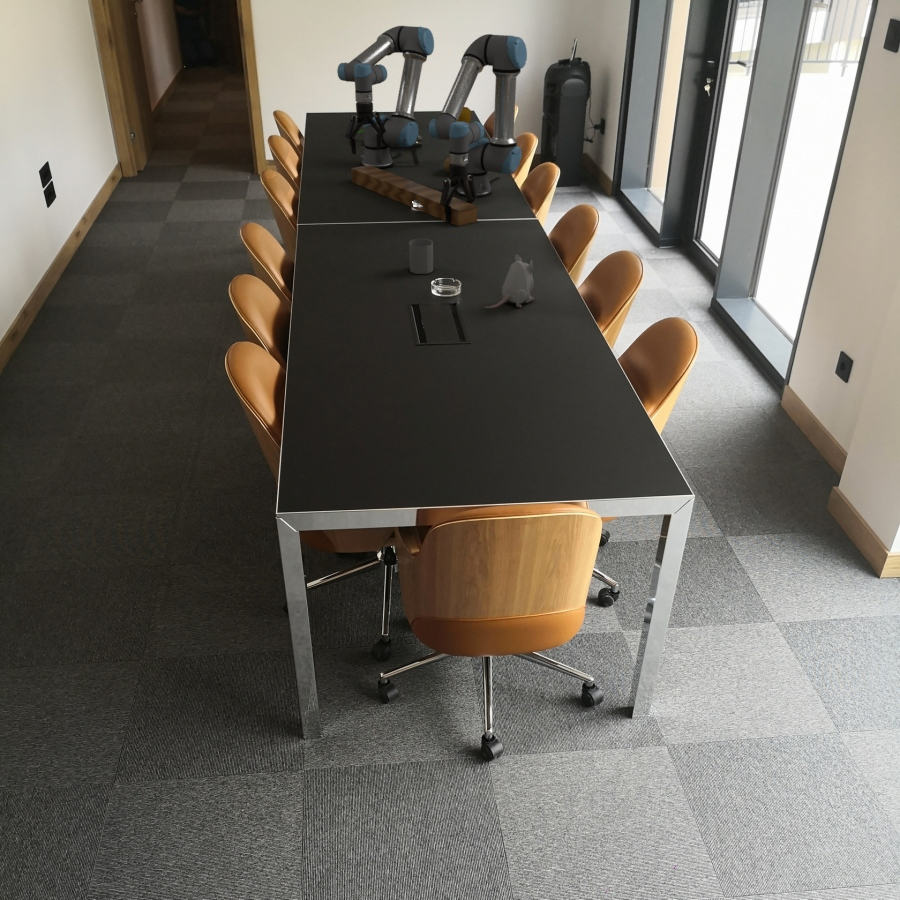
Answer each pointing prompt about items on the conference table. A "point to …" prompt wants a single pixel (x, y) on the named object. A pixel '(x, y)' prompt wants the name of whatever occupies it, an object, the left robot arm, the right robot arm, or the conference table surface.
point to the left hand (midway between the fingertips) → (366, 151)
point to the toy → (517, 283)
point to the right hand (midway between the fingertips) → (458, 219)
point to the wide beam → (413, 194)
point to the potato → (447, 164)
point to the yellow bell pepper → (465, 115)
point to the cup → (421, 256)
